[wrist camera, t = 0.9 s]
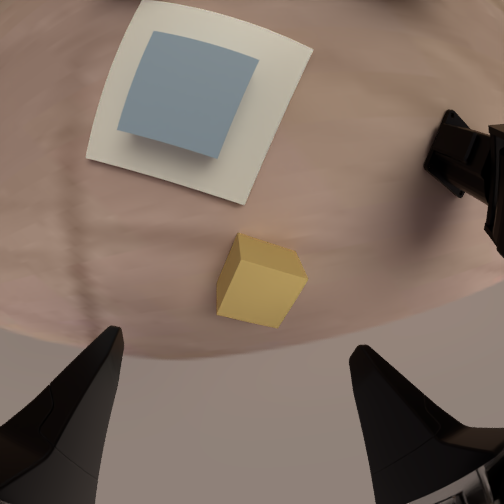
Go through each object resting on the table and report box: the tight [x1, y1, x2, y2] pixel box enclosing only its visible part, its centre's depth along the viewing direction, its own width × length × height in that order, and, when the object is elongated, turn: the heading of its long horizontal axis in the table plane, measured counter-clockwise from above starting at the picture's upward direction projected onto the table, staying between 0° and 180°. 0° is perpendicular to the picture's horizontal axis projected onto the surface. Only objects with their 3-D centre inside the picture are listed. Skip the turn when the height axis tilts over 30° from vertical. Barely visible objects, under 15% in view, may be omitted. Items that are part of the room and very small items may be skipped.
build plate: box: [86, 0, 313, 205], centre depth 15 cm, size 12×12×1 cm
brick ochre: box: [217, 233, 308, 328], centre depth 21 cm, size 5×5×4 cm
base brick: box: [117, 31, 259, 159], centre depth 13 cm, size 6×6×3 cm
